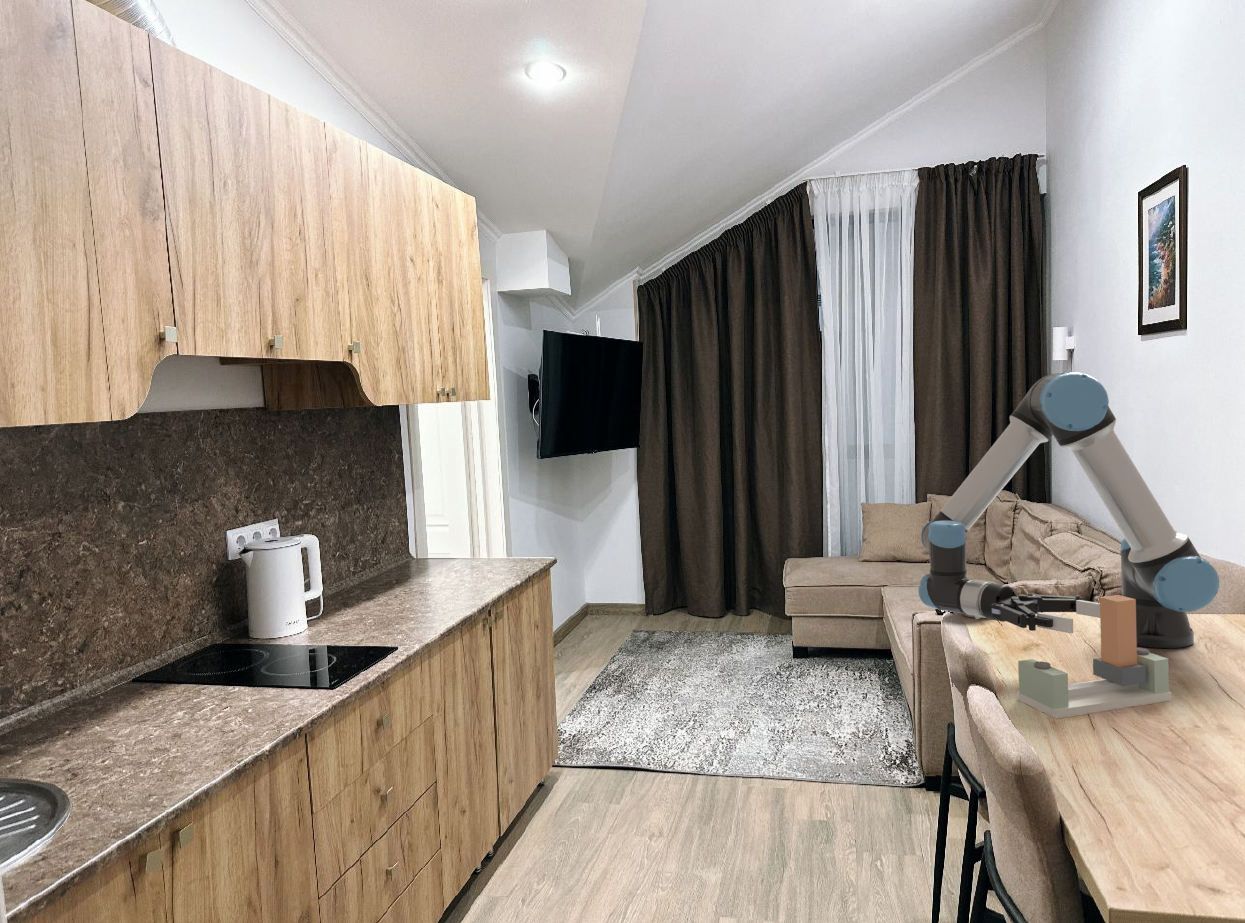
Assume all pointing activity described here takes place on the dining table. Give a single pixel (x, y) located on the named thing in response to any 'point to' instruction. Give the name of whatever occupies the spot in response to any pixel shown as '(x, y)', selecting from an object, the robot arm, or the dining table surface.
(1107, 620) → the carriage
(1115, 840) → the dining table surface
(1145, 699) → the rail bed
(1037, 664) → the end cabinets
